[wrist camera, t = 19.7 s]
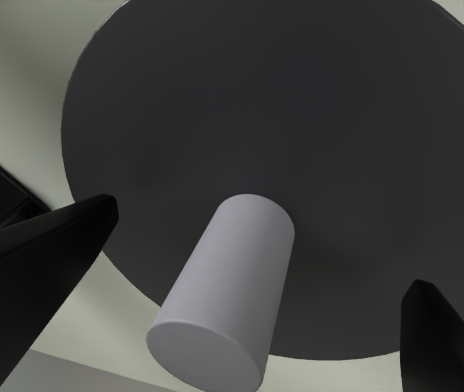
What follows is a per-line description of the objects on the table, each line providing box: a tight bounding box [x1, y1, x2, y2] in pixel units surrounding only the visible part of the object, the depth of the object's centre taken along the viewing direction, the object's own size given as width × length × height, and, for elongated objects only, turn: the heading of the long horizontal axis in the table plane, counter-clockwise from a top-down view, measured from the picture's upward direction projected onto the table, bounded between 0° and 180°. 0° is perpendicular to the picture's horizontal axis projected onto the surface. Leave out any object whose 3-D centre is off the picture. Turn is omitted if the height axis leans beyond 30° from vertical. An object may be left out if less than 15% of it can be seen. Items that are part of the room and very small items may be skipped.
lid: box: [61, 0, 464, 392], centre depth 9 cm, size 14×14×6 cm
